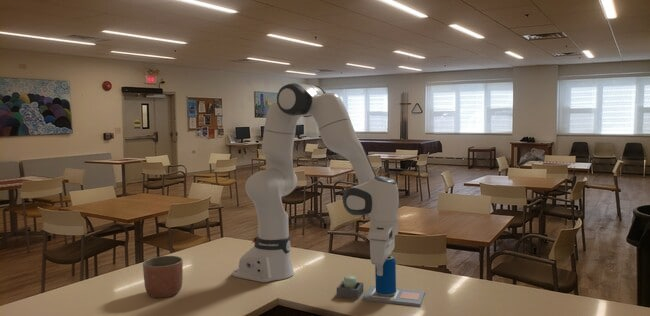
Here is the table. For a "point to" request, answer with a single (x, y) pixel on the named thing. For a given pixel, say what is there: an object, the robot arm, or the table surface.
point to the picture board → (396, 296)
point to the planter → (163, 275)
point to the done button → (350, 282)
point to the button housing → (350, 291)
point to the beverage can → (387, 278)
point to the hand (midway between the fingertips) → (383, 270)
